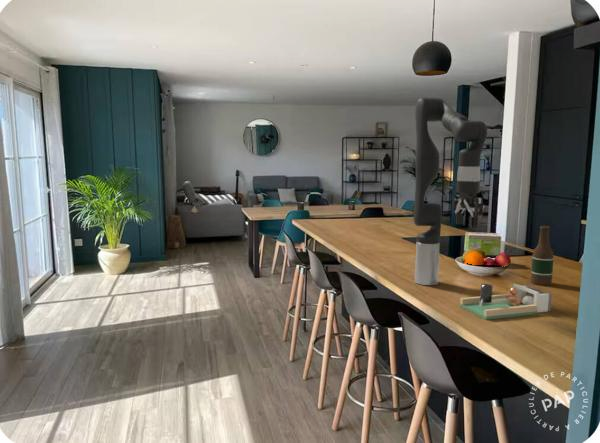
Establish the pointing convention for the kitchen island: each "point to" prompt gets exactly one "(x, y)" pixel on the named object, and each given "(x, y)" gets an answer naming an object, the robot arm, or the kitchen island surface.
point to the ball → (528, 300)
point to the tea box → (483, 243)
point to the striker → (487, 299)
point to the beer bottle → (542, 260)
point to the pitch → (496, 308)
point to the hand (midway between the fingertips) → (466, 225)
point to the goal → (535, 296)
